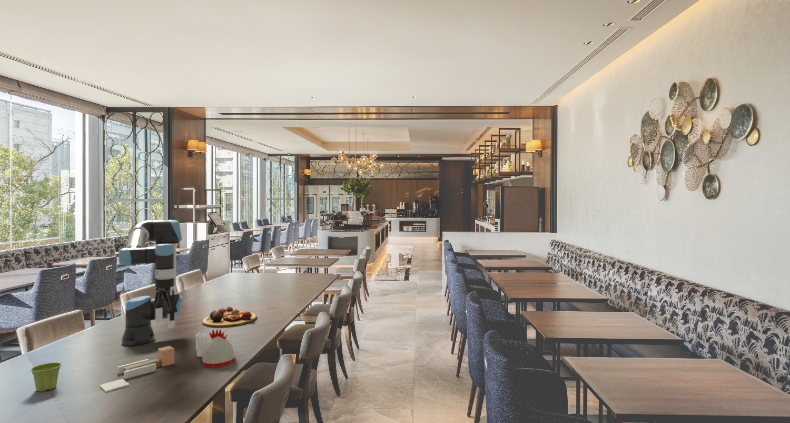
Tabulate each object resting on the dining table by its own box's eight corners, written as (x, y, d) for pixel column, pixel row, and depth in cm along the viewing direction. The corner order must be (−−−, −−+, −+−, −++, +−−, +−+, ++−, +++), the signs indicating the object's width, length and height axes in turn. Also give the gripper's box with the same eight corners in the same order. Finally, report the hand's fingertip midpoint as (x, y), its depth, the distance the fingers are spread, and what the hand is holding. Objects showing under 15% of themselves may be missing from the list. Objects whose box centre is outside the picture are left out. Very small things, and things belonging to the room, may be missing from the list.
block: (158, 363, 191) (158, 348, 191) (169, 360, 195) (169, 345, 195) (162, 366, 188) (162, 351, 188) (174, 363, 191) (174, 348, 191)
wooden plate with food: (267, 319, 269) (267, 306, 269) (223, 331, 242) (223, 317, 242) (235, 312, 286) (235, 300, 286) (191, 323, 260) (191, 310, 259)
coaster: (99, 386, 167) (99, 385, 167) (122, 380, 173) (122, 378, 173) (105, 392, 161) (105, 390, 161) (129, 385, 167) (129, 384, 167)
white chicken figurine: (211, 356, 201) (211, 325, 201) (239, 356, 200) (239, 325, 200) (196, 367, 187) (196, 333, 187) (226, 367, 186) (226, 334, 186)
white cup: (206, 358, 198) (206, 337, 198) (191, 357, 200) (191, 336, 200) (216, 352, 206) (216, 332, 206) (202, 351, 207) (202, 331, 207)
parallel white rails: (117, 373, 180) (117, 366, 180) (148, 365, 189) (148, 358, 189) (124, 379, 174) (124, 371, 174) (156, 370, 183) (155, 363, 183)
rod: (123, 374, 179) (123, 367, 179) (158, 365, 190) (158, 358, 190) (126, 376, 177) (126, 369, 177) (161, 366, 188) (161, 359, 188)
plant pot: (42, 383, 169) (42, 362, 169) (67, 383, 170) (67, 361, 170) (24, 394, 160) (24, 371, 160) (50, 393, 161) (50, 370, 161)
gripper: (145, 276, 195) (145, 321, 195) (167, 282, 179) (167, 331, 179) (162, 274, 201) (162, 318, 201) (185, 280, 184) (185, 328, 184)
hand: (165, 324), depth 190 cm, fingers open, 13 cm apart
